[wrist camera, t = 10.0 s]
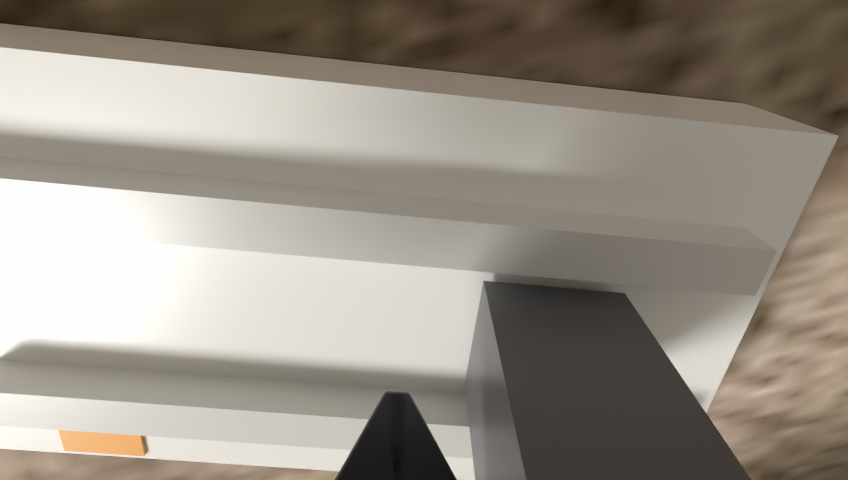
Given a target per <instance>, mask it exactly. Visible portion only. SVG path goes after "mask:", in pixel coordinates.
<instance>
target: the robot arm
mask: <svg viewBox="0 0 848 480" xmlns="http://www.w3.org/2000/svg"><path fill="white" fill-rule="evenodd" d="M335 480H457V479H456V477H455V476H454V474H453V472H452V470H451V468H450V466H449V464H448V463H447V461H446V459H445V457H444V455H443V453H442V452H441V450H440V448H439V446H438V444H437V442H436V441H435V439H434V437H433V435H432V433H431V431H430V429H429V428H428V426H427V424H426V422H425V420H424V418H423V417H422V415H421V413H420V411H419V409H418V407H417V405H416V404H415V402H414V400H413V398H412V396H411V395H410V393H408V392H404V391H386V392H385V393H384V394H383V395H382V397H381V399H380V401H379V402H378V404H377V406H376V408H375V410H374V411H373V413H372V415H371V417H370V418H369V420H368V422H367V424H366V425H365V427H364V429H363V431H362V432H361V434H360V436H359V438H358V439H357V441H356V443H355V445H354V446H353V448H352V450H351V452H350V454H349V455H348V457H347V459H346V461H345V462H344V464H343V466H342V468H341V469H340V471H339V473H338V475H337V476H336V478H335Z"/></svg>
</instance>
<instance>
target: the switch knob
mask: <svg viewBox="0 0 848 480" xmlns="http://www.w3.org/2000/svg"><path fill="white" fill-rule="evenodd" d="M465 392H466V401H467V410H468V419H469V428H470V437H471V446H472V456H473V465H474V474H475V480H751V479H750V477H749V476H748V474H747V473H746V472H745V470H744V469H743V467H742V466H741V464H740V463H739V461H738V460H737V458H736V457H735V455H734V454H733V452H732V451H731V449H730V448H729V446H728V445H727V443H726V442H725V440H724V439H723V438H722V436H721V435H720V433H719V432H718V430H717V429H716V427H715V426H714V424H713V423H712V421H711V420H710V418H709V417H708V415H707V414H706V412H705V411H704V409H703V408H702V406H701V405H700V404H699V402H698V401H697V399H696V398H695V396H694V395H693V393H692V392H691V390H690V389H689V387H688V386H687V384H686V383H685V381H684V380H683V378H682V377H681V375H680V374H679V372H678V371H677V369H676V368H675V367H674V365H673V364H672V362H671V361H670V359H669V358H668V356H667V355H666V353H665V352H664V350H663V349H662V347H661V346H660V344H659V343H658V341H657V340H656V338H655V337H654V335H653V334H652V333H651V331H650V330H649V328H648V327H647V325H646V324H645V322H644V321H643V319H642V318H641V316H640V315H639V313H638V312H637V310H636V309H635V307H634V306H633V304H632V303H631V301H630V300H629V299H628V297H627V296H626V294H625V293H619V292H607V291H596V290H584V289H573V288H561V287H550V286H538V285H527V284H515V283H504V282H492V281H483V286H482V291H481V297H480V302H479V308H478V313H477V319H476V324H475V330H474V335H473V341H472V346H471V352H470V357H469V363H468V368H467V374H466V379H465Z"/></svg>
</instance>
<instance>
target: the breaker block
mask: <svg viewBox="0 0 848 480" xmlns="http://www.w3.org/2000/svg"><path fill="white" fill-rule="evenodd" d="M838 137H839V136H838V135H835V134H832V133H829V132H826V131H823V130H820V129H818V128H815V127H812V126H809V125H806V124H803V123H800V122H797V121H794V120H791V119H788V118H786V117H783V116H780V115H777V114H774V113H771V112H768V111H765V110H762V109H759V108H756V107H754V106H751V105H748V104H744V103H735V102H725V101H716V100H707V99H698V98H688V97H679V96H670V95H661V94H651V93H642V92H633V91H624V90H614V89H605V88H596V87H586V86H577V85H568V84H559V83H549V82H540V81H531V80H522V79H512V78H503V77H494V76H485V75H475V74H466V73H457V72H448V71H438V70H429V69H420V68H411V67H401V66H392V65H383V64H374V63H364V62H355V61H346V60H336V59H327V58H318V57H309V56H299V55H290V54H281V53H272V52H262V51H253V50H244V49H235V48H225V47H216V46H207V45H198V44H188V43H179V42H170V41H161V40H151V39H142V38H133V37H124V36H114V35H105V34H96V33H86V32H77V31H68V30H59V29H49V28H40V27H31V26H22V25H12V24H3V23H0V449H15V450H30V451H45V452H60V453H75V454H90V455H105V456H120V457H135V458H150V459H165V460H180V461H194V462H209V463H224V464H239V465H254V466H269V467H284V468H299V469H314V470H329V471H340V469H341V468H342V466H343V464H344V462H345V461H346V459H347V457H348V455H349V454H350V452H351V450H352V448H353V446H354V445H355V443H356V441H357V439H358V438H359V436H360V434H361V432H362V431H363V429H364V427H365V425H366V424H367V422H368V420H369V418H370V417H371V415H372V413H373V411H374V410H375V408H376V406H377V404H378V402H379V401H380V399H381V397H382V395H383V394H384V393H385V392H386V391H404V392H408V393H410V395H411V396H412V398H413V400H414V402H415V404H416V405H417V407H418V409H419V411H420V413H421V415H422V417H423V418H424V420H425V422H426V424H427V426H428V428H429V429H430V431H431V433H432V435H433V437H434V439H435V441H436V442H437V444H438V446H439V448H440V450H441V452H442V453H443V455H444V457H445V459H446V461H447V463H448V464H449V466H450V468H451V470H452V472H453V474H454V476H455V477H456V479H464V480H475V474H474V465H473V456H472V446H471V437H470V428H469V419H468V410H467V401H466V392H465V379H466V374H467V368H468V363H469V357H470V352H471V346H472V341H473V335H474V330H475V324H476V319H477V313H478V308H479V302H480V297H481V291H482V286H483V281H492V282H504V283H515V284H527V285H538V286H550V287H561V288H573V289H584V290H596V291H607V292H619V293H625V294H626V296H627V297H628V299H629V300H630V301H631V303H632V304H633V306H634V307H635V309H636V310H637V312H638V313H639V315H640V316H641V318H642V319H643V321H644V322H645V324H646V325H647V327H648V328H649V330H650V331H651V333H652V334H653V335H654V337H655V338H656V340H657V341H658V343H659V344H660V346H661V347H662V349H663V350H664V352H665V353H666V355H667V356H668V358H669V359H670V361H671V362H672V364H673V365H674V367H675V368H676V369H677V371H678V372H679V374H680V375H681V377H682V378H683V380H684V381H685V383H686V384H687V386H688V387H689V389H690V390H691V392H692V393H693V395H694V396H695V398H696V399H697V401H698V402H699V404H700V405H701V406H702V408H703V409H704V411H705V412H707V410H708V408H709V406H710V404H711V402H712V399H713V397H714V395H715V393H716V391H717V389H718V387H719V385H720V383H721V381H722V379H723V376H724V374H725V372H726V370H727V368H728V366H729V364H730V362H731V360H732V358H733V356H734V354H735V351H736V349H737V347H738V345H739V343H740V341H741V339H742V337H743V335H744V333H745V331H746V329H747V326H748V324H749V322H750V320H751V318H752V316H753V314H754V312H755V310H756V308H757V306H758V303H759V301H760V299H761V297H762V295H763V293H764V291H765V289H766V287H767V285H768V283H769V281H770V278H771V276H772V274H773V272H774V270H775V268H776V266H777V264H778V262H779V260H780V258H781V256H782V253H783V251H784V249H785V247H786V245H787V243H788V241H789V239H790V237H791V235H792V233H793V231H794V228H795V226H796V224H797V222H798V220H799V218H800V216H801V214H802V212H803V210H804V208H805V205H806V203H807V201H808V199H809V197H810V195H811V193H812V191H813V189H814V187H815V185H816V183H817V180H818V178H819V176H820V174H821V172H822V170H823V168H824V166H825V164H826V162H827V160H828V158H829V155H830V153H831V151H832V149H833V147H834V145H835V143H836V141H837V139H838Z"/></svg>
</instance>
